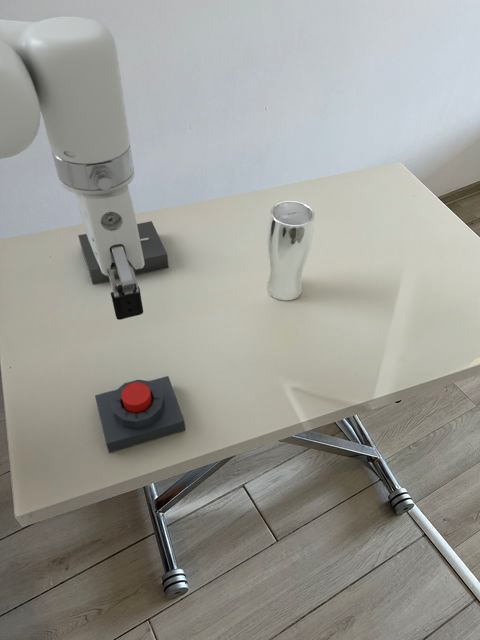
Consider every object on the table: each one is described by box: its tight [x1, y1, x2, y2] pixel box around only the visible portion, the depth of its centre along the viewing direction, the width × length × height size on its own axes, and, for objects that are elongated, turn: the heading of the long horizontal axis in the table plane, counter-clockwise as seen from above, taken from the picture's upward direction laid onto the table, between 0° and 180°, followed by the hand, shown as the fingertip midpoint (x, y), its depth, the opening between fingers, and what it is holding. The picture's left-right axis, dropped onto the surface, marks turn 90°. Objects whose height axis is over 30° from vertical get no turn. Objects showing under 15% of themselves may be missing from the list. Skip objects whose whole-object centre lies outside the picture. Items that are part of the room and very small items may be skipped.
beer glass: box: [266, 200, 315, 302], centre depth 84 cm, size 7×7×15 cm
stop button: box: [121, 383, 152, 413], centre depth 68 cm, size 4×4×2 cm
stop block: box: [94, 375, 186, 454], centre depth 70 cm, size 10×8×4 cm
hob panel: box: [78, 220, 170, 285], centre depth 92 cm, size 13×10×3 cm
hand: (120, 289), depth 66 cm, fingers open, 9 cm apart
